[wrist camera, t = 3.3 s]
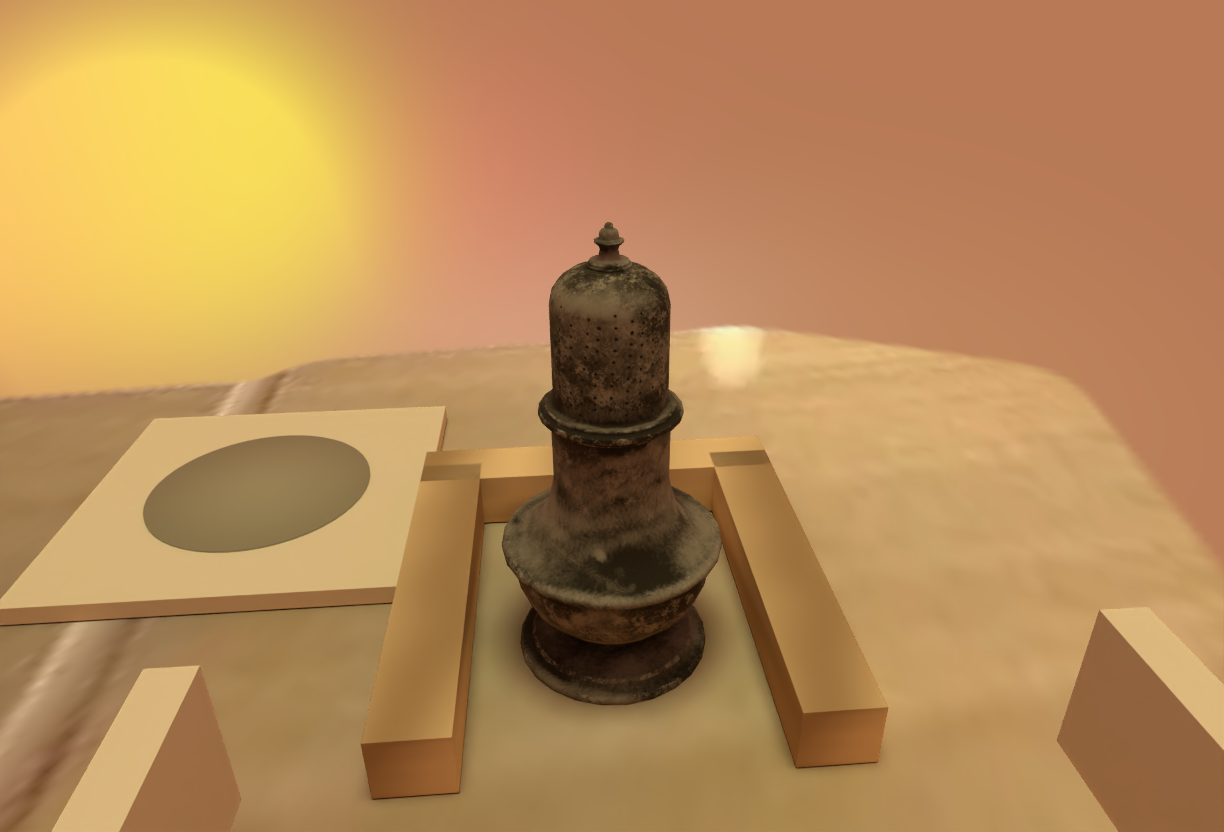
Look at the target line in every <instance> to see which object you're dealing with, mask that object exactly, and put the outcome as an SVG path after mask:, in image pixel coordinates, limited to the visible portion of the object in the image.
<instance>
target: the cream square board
mask: <svg viewBox="0 0 1224 832" xmlns="http://www.w3.org/2000/svg"><path fill="white" fill-rule="evenodd" d="M446 422H447V413H446V406H437V407H414V408H391V409H368V410H345V411H322V412H299V413H275V414H252V415H229V416H206V417H183V418H160V419H154V420H153V421H152V422H151V424H150V425H149V426H148V427H147V428H146V429H145V431H144V432H143V433H142V434H141V435H140V437H139V438H138V439H137V440H136V441H135V442H134V444H133V445H132V446H131V447H130V448H129V449H128V451H127V452H126V453H125V454H124V455H123V456H122V458H121V459H120V460H119V461H118V462H117V463H116V465H115V466H114V467H113V468H112V469H111V470H110V472H109V473H108V474H107V475H106V476H105V478H104V479H103V480H102V481H101V482H100V483H99V485H98V486H97V487H96V488H95V489H94V490H93V492H92V493H91V494H90V495H89V496H88V497H87V499H86V500H85V501H84V502H83V503H82V504H81V506H80V507H79V508H78V509H77V510H76V511H75V513H74V514H73V515H72V516H71V517H70V519H69V520H68V521H67V522H66V523H65V524H64V526H63V527H62V528H61V529H60V530H59V531H58V533H57V534H56V535H55V536H54V537H53V538H52V540H51V541H50V542H49V543H48V544H47V545H46V547H45V548H44V549H43V550H42V551H41V553H40V554H39V555H38V556H37V557H36V558H35V560H34V561H33V562H32V563H31V564H30V565H29V567H28V568H27V569H26V570H25V571H24V572H23V574H22V575H21V576H20V577H19V578H18V579H17V581H16V582H15V583H14V584H13V585H12V586H11V588H10V589H9V590H8V591H7V592H6V594H5V595H4V596H3V597H2V598H1V599H0V625H13V624H31V623H48V622H65V621H82V620H99V619H116V618H133V617H150V616H168V615H185V614H202V613H219V612H236V611H253V610H270V609H287V608H305V607H322V606H339V605H356V604H373V603H390V602H393V599H394V594H395V590H396V586H397V581H398V577H399V572H400V568H401V563H402V559H403V555H404V550H405V546H406V541H407V537H408V533H409V528H410V524H411V519H412V515H413V510H414V506H415V502H416V497H417V493H418V488H419V484H420V480H421V475H422V471H423V466H424V462H425V457H426V453H427V452H434V451H441V447H442V442H443V437H444V432H445V427H446Z"/></svg>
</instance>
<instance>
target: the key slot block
mask: <svg viewBox="0 0 1224 832" xmlns="http://www.w3.org/2000/svg"><path fill="white" fill-rule="evenodd" d="M553 475H554V474H553V452H552V446H541V447H519V448H498V449H477V450H455V451H434V452H427V453H426V457H425V462H424V466H423V471H422V475H421V480H420V484H419V488H418V493H417V497H416V502H415V506H414V510H413V515H412V519H411V524H410V528H409V533H408V537H407V541H406V546H405V550H404V555H403V559H402V563H401V568H400V572H399V577H398V581H397V586H396V590H395V594H394V599H393V603H392V608H391V612H390V616H389V621H388V625H387V630H386V634H385V639H384V643H383V647H382V652H381V656H380V661H379V665H378V669H377V674H376V678H375V683H374V687H373V692H372V696H371V700H370V705H369V709H368V714H367V718H366V722H365V727H364V731H363V736H362V740H361V748H362V752H363V757H364V762H365V767H366V772H367V777H368V782H369V787H370V791H371V796H372V799H376V798H389V797H403V796H416V795H430V794H444V793H457V792H459V788H460V778H461V767H462V756H463V745H464V735H465V724H466V713H467V702H468V691H469V681H470V670H471V659H472V648H473V638H474V627H475V616H476V605H477V594H478V584H479V573H480V562H481V551H482V541H483V530H484V523H488V522H507V521H509V520H510V518H511V517H512V515H513V514H514V512H515V511H516V510H517V509H518V508H520V507H521V506H522V505H523V504H524V503H525V502H527V501H528V500H529V499H530V498H531V497H533V496H535V495H537V494H539V493H541V492H543V491H544V490H546V489H548V488H550V487H552V481H553ZM669 478H670V483H671V486H673V487H675V488H677V489H679V490H681V491H683V492H685V493H687V494H689V495H691V496H692V497H694V498H695V499H696V500H697V501H699V502H700V503H701V504H702V505H704V506H705V507H706V508H707V509H708V510H709V511H712V513H713V516H714V519H715V520H716V522H717V523H718V525H719V530H720V534H721V539H722V543H723V546H724V549H725V552H726V555H727V558H728V561H729V564H730V567H731V570H732V574H733V577H734V580H735V583H736V586H737V589H738V592H739V595H740V598H741V601H742V604H743V607H744V610H745V613H746V616H747V619H748V622H749V625H750V628H751V631H752V634H753V637H754V640H755V644H756V647H757V650H758V653H759V656H760V659H761V662H762V665H763V668H764V671H765V674H766V677H767V680H768V683H769V686H770V689H771V692H772V695H773V698H774V701H775V704H776V707H777V710H778V714H779V717H780V720H781V723H782V726H783V729H784V732H785V735H786V738H787V741H788V744H789V747H790V750H791V753H792V756H793V759H794V762H795V765H796V768H797V767H811V766H825V765H838V764H852V763H865V762H878V758H879V753H880V748H881V743H882V737H883V732H884V727H885V722H886V717H887V712H888V705H887V703H886V701H885V699H884V697H883V695H882V693H881V691H880V689H879V687H878V685H877V683H876V680H875V678H874V676H873V674H872V672H871V670H870V668H869V666H868V664H867V662H866V660H865V658H864V655H863V653H862V651H861V649H860V647H859V645H858V643H857V641H856V639H855V637H854V635H853V633H852V631H851V628H850V626H849V624H848V622H847V620H846V618H845V616H844V614H843V612H842V610H841V608H840V606H839V604H838V601H837V599H836V597H835V595H834V593H833V591H832V589H831V587H830V585H829V583H828V581H827V579H826V576H825V574H824V572H823V570H822V568H821V566H820V564H819V562H818V560H817V558H816V556H815V554H814V552H813V549H812V547H811V545H810V543H809V541H808V539H807V537H806V535H805V533H804V531H803V529H802V527H801V525H800V522H799V520H798V518H797V516H796V514H795V512H794V510H793V508H792V506H791V504H790V502H789V500H788V497H787V495H786V493H785V491H784V489H783V487H782V485H781V483H780V481H779V479H778V477H777V475H776V473H775V470H774V468H773V466H772V464H771V462H770V460H769V458H768V456H767V454H766V452H765V450H764V448H763V446H762V443H761V441H760V439H759V437H758V436H754V437H733V438H711V439H690V440H670V466H669Z"/></svg>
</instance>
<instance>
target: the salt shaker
mask: <svg viewBox="0 0 1224 832" xmlns="http://www.w3.org/2000/svg"><path fill="white" fill-rule="evenodd" d="M604 227H605V228H602V229H601V230H600V232H599V237H597V238H595V239H594V243H596V244H597V245H598V246H599V248H600V251H599V255H596V256H593V257H591V258H590V259H589V261H588V262H583V263H580V264H577V265H576V266H574V267H572V268H571V269H569V270H567V271H566V272H564V273H563V274H562V275H561V276H560V277H559V278H558V280H557V281H556V283H555V284H554V286H553V287H552V290H551V294H550V300H549V318H550V340H551V363H552V385H553V389H552V390H551V391H549V392H548V393H546V394H545V395H544V397H543V398H542V400H541V401H540V402H539V408H538V415H539V417H540V419H541V422H542V423H543V424H544V425H545V426H546V427H547V428H548V429H549V430H551V431H552V452H553V474H554V475H553V481H552V487H550V488H548V489H546V490H544V491H543V492H541V493H539V494H537V495H535V496H533V497H531V498H530V499H529V500H528V501H527V502H525V503H524V504H523V505H522V506H521V507H520V508H518V509H517V510H516V511H515V512H514V514H513V515H512V517H511V518H510V520H509V522H508V523H507V525H506V526H505V529H504V535H503V541H502V548H503V552H504V555H505V559H506V562H507V565H508V566H509V568H510V569H511V570H512V571H513V573H514V574H515V575H516V576H517V578H518V579H519V583H520V586H521V588H522V590H523V592H524V593H525V595H526V596H527V598H528V600H529V601H530V603H531V604H532V606H533V608H532V609H531V610H530V611H529V613H528V615H527V617H526V619H525V621H524V623H523V626H522V635H521V647H522V651H523V655H524V658H525V662H526V663H527V665H528V666H529V667H530V669H531V670H532V672H533V673H534V675H535V676H536V677H537V678H538V679H539V680H541V681H542V682H543V683H545V684H546V685H547V686H548V687H550V688H551V689H552V690H554V691H556V692H558V693H561V694H563V695H565V696H568V697H570V698H572V699H575V700H579V701H584V702H589V703H595V704H600V705H614V704H631V703H636V702H640V701H644V700H649V699H653V698H655V697H657V696H659V695H662V694H664V693H666V692H668V691H670V690H672V689H674V688H676V687H677V686H678V685H679V684H680V683H682V682H683V681H684V680H685V679H686V678H688V677H689V676H690V675H691V674H692V672H693V671H694V669H695V668H696V666H697V665H698V663H699V661H700V660H701V658H702V653H703V649H704V644H705V634H704V628H703V622H702V620H701V619H700V617H699V615H698V613H697V611H696V610H695V608H694V607H693V606H692V604H693V603H694V601H695V599H696V598H697V596H698V594H699V593H700V591H701V589H702V588H703V586H704V584H705V580H706V577H707V575H708V574H709V573H710V571H711V570H712V568H713V567H714V566H715V564H716V563H717V561H718V558H719V553H720V549H721V545H722V539H721V534H720V530H719V525H718V523H717V522H716V520H715V519H714V517H713V516H712V514H711V513H710V512H709V510H708V509H707V508H706V507H705V506H704V505H702V504H701V503H700V502H699V501H697V500H696V499H695V498H694V497H692V496H691V495H689V494H687V493H685V492H683V491H681V490H679V489H677V488H675V487H673V486H671V483H670V478H669V466H670V431H672V430H673V429H674V428H675V427H676V426H677V425H678V424H679V423H680V421H681V419H682V416H683V411H684V410H683V406H682V401H681V400H680V399H679V398H678V397H677V396H676V394H675V393H674V392H672V391H670V390H669V389H668V387H669V347H670V305H671V304H670V299H669V294H668V290H667V287H666V285H665V284H664V283H663V281H662V280H661V279H660V277H659V276H658V275H657V274H655V273H654V272H652V271H651V270H649V269H647V268H646V267H644V266H642V265H640V264H638V263H634V262H631V261H630V260H629V258H628V257H626V256H623V255H619V251H618V248H619V246H620V245H621V244H622V243H623V242H624V239H623V238H621V237H619V234H618V230H617V229H615V228H613V224H612V223H610V222H607V223H606V224H605V226H604Z"/></svg>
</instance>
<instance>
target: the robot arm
mask: <svg viewBox="0 0 1224 832" xmlns="http://www.w3.org/2000/svg"><path fill="white" fill-rule="evenodd" d="M1057 742H1058V743H1059V744H1060V746H1061V747H1062V749H1063V750H1064V752H1065V753H1066V755H1067V756H1068V758H1069V759H1070V761H1071V762H1072V764H1073V765H1074V767H1075V768H1076V770H1077V771H1078V772H1079V774H1080V775H1081V777H1082V778H1083V780H1084V781H1085V783H1086V784H1087V786H1088V787H1089V789H1090V790H1091V792H1092V793H1093V795H1094V796H1095V798H1096V799H1097V800H1098V802H1099V803H1100V805H1101V806H1102V808H1103V809H1104V811H1105V812H1106V814H1107V815H1108V817H1109V818H1110V820H1111V821H1112V823H1113V824H1114V826H1115V827H1116V828H1117V830H1118V831H1119V832H1224V685H1223V684H1222V683H1221V682H1220V681H1219V680H1218V679H1217V678H1216V676H1215V675H1214V674H1213V673H1212V672H1211V671H1210V670H1209V669H1208V668H1207V667H1206V666H1205V665H1204V664H1203V663H1202V662H1201V661H1200V660H1199V659H1198V658H1197V657H1196V656H1195V655H1194V654H1193V653H1192V652H1191V651H1190V650H1189V649H1188V648H1187V646H1186V645H1185V644H1184V643H1183V642H1182V641H1181V640H1180V639H1179V638H1178V637H1177V636H1176V635H1175V634H1174V633H1173V632H1172V631H1171V630H1170V629H1169V628H1168V627H1167V626H1166V625H1165V624H1164V623H1163V622H1162V621H1161V620H1160V619H1159V617H1158V616H1157V615H1156V614H1155V613H1154V612H1153V611H1152V610H1151V609H1150V608H1149V607H1139V608H1123V609H1106V610H1099V613H1098V616H1097V619H1096V622H1095V625H1094V628H1093V631H1092V634H1091V637H1090V641H1089V644H1088V647H1087V650H1086V653H1085V656H1084V659H1083V662H1082V665H1081V668H1080V671H1079V674H1078V677H1077V680H1076V683H1075V686H1074V689H1073V692H1072V695H1071V699H1070V702H1069V705H1068V708H1067V711H1066V714H1065V717H1064V720H1063V723H1062V726H1061V729H1060V732H1059V735H1058V738H1057ZM240 802H241V796H240V793H239V790H238V787H237V784H236V780H235V777H234V774H233V771H232V767H231V764H230V761H229V758H228V755H227V751H226V748H225V745H224V742H223V738H222V735H221V732H220V729H219V726H218V722H217V719H216V716H215V713H214V709H213V706H212V703H211V700H210V697H209V693H208V690H207V687H206V684H205V680H204V677H203V674H202V671H201V668H200V666H184V667H168V668H152V669H143V671H142V672H141V674H140V676H139V678H138V679H137V681H136V683H135V685H134V686H133V688H132V690H131V692H130V694H129V695H128V697H127V699H126V701H125V702H124V704H123V706H122V708H121V709H120V711H119V713H118V715H117V717H116V718H115V720H114V722H113V724H112V725H111V727H110V729H109V731H108V732H107V734H106V736H105V738H104V740H103V741H102V743H101V745H100V747H99V748H98V750H97V752H96V754H95V755H94V757H93V759H92V761H91V763H90V764H89V766H88V768H87V770H86V771H85V773H84V775H83V777H82V779H81V780H80V782H79V784H78V786H77V787H76V789H75V791H74V793H73V794H72V796H71V798H70V800H69V802H68V803H67V805H66V807H65V809H64V810H63V812H62V814H61V816H60V817H59V819H58V821H57V823H56V825H55V826H54V828H53V830H52V832H230V830H231V827H232V824H233V821H234V818H235V816H236V813H237V810H238V807H239V804H240Z"/></svg>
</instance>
